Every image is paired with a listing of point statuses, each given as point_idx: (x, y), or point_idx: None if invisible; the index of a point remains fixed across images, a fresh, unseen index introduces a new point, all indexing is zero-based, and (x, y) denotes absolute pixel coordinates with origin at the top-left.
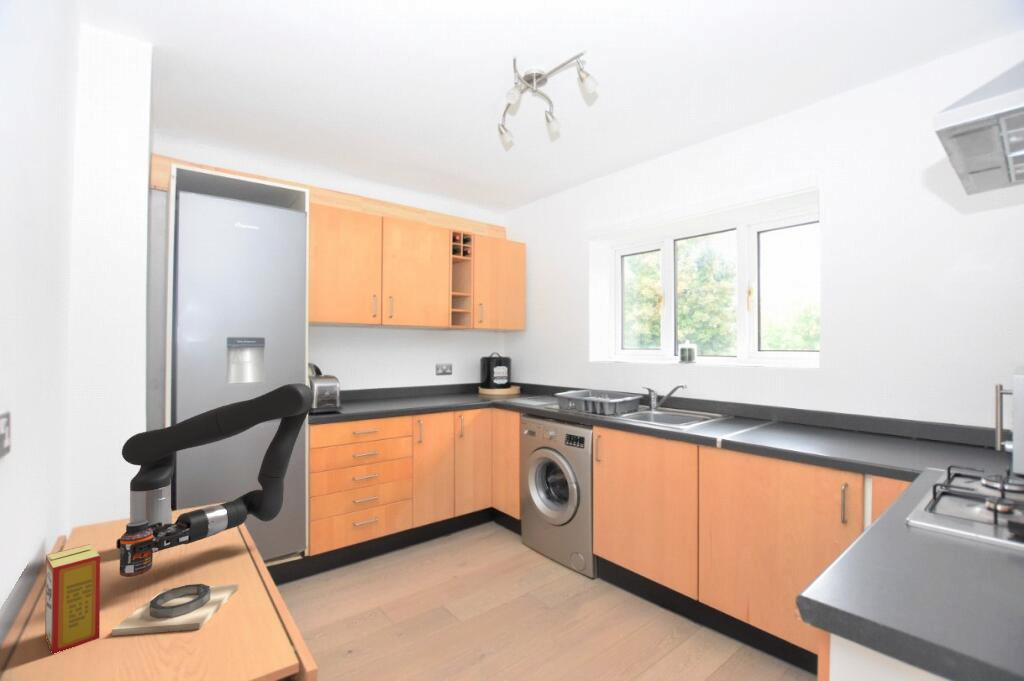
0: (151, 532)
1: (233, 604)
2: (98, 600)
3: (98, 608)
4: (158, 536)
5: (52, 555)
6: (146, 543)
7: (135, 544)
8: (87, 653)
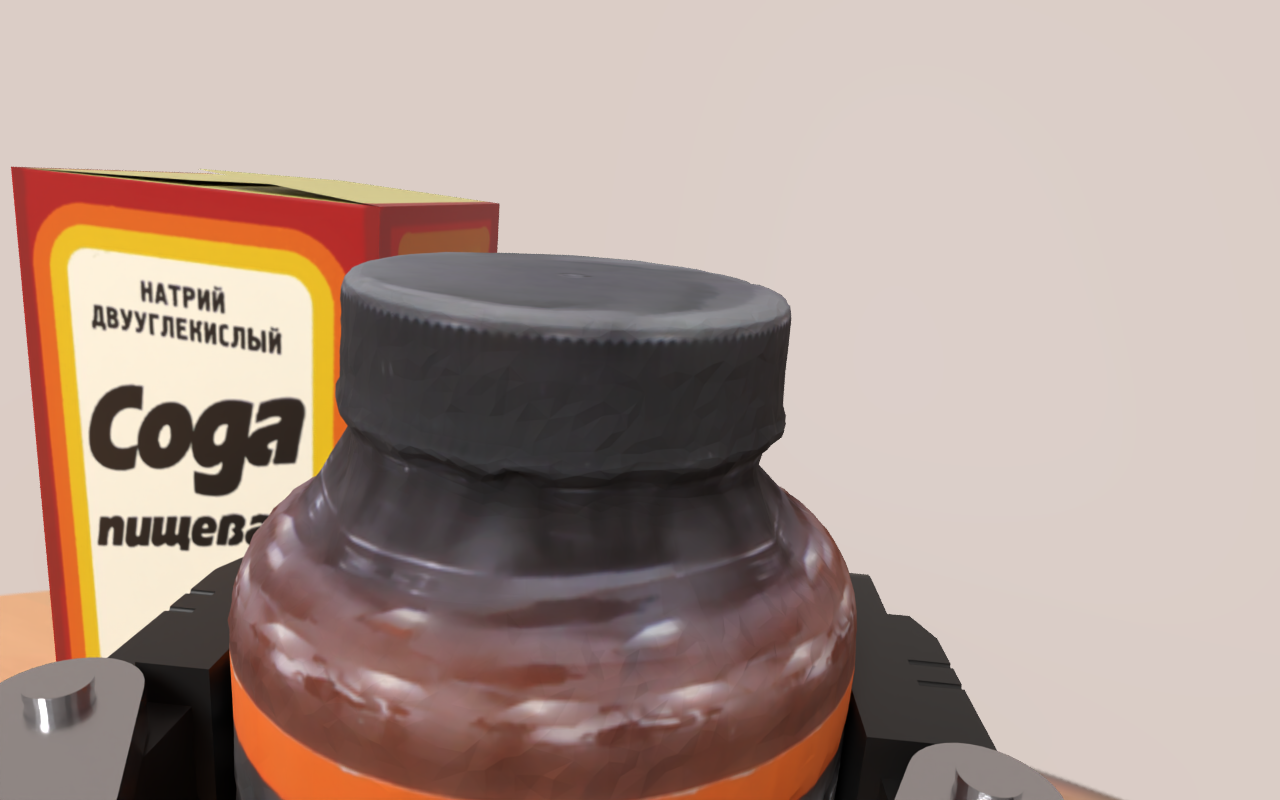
0: (263, 624)
1: None
2: (47, 501)
3: (53, 556)
4: (14, 784)
5: (433, 195)
6: (154, 642)
7: None
8: (9, 666)
